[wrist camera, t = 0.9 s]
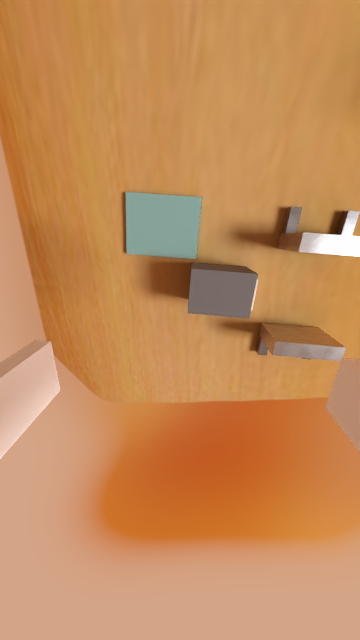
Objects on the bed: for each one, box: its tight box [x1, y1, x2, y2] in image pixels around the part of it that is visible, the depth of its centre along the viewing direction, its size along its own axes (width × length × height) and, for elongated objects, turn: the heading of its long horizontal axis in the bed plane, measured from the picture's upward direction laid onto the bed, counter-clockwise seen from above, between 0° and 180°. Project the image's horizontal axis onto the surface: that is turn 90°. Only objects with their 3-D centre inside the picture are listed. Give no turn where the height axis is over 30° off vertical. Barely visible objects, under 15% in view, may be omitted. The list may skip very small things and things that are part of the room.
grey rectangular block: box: [188, 262, 258, 318], centre depth 27 cm, size 5×7×6 cm
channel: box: [256, 207, 360, 361], centre depth 26 cm, size 19×8×6 cm, turn 176°
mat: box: [126, 192, 202, 259], centre depth 27 cm, size 7×9×1 cm
